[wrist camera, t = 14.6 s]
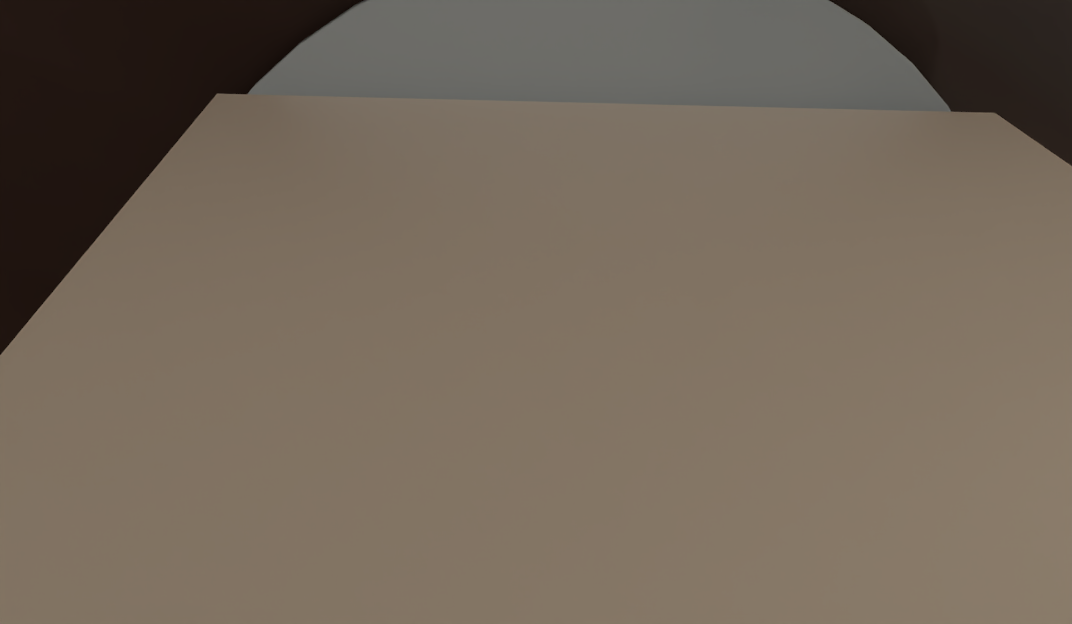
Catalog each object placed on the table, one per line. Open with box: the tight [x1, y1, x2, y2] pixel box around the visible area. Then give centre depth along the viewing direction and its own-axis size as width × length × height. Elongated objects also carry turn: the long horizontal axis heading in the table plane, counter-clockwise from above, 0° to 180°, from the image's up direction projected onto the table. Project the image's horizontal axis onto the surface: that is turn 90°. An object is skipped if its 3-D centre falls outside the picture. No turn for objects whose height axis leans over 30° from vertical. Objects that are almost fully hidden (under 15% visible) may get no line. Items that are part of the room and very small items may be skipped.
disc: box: [248, 0, 951, 112], centre depth 11 cm, size 10×10×1 cm
